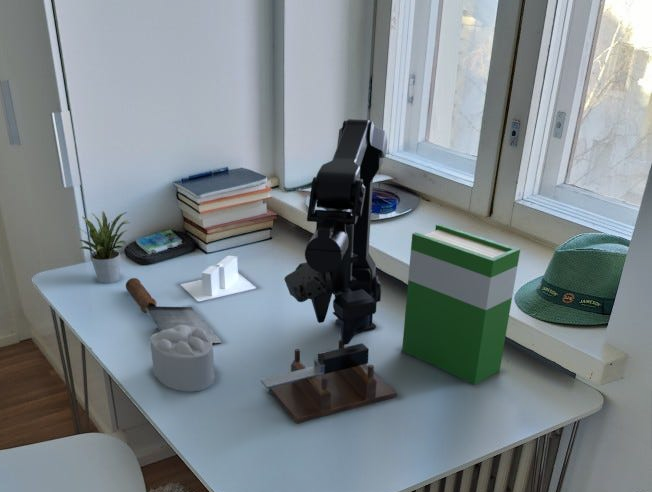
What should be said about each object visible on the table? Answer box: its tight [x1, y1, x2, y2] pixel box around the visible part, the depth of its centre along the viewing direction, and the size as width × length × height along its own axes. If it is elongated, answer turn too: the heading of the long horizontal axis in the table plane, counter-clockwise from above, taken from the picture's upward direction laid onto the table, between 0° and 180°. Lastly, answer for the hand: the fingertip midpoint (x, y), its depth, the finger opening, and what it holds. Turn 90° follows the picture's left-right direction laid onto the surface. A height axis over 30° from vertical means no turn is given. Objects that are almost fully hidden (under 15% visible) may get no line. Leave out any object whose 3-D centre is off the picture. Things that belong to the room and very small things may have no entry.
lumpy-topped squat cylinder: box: [149, 325, 215, 392], centre depth 146 cm, size 10×13×9 cm
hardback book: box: [401, 223, 521, 385], centre depth 143 cm, size 18×7×24 cm, turn 38°
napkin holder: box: [180, 255, 257, 302], centre depth 181 cm, size 15×11×6 cm
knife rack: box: [268, 338, 398, 424], centre depth 139 cm, size 20×12×8 cm, turn 112°
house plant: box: [74, 211, 130, 284], centre depth 184 cm, size 14×14×16 cm
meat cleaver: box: [125, 277, 223, 344], centre depth 169 cm, size 34×11×4 cm, turn 23°
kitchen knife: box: [260, 342, 370, 390], centre depth 136 cm, size 20×3×3 cm, turn 112°
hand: (332, 333), depth 136 cm, fingers open, 9 cm apart
